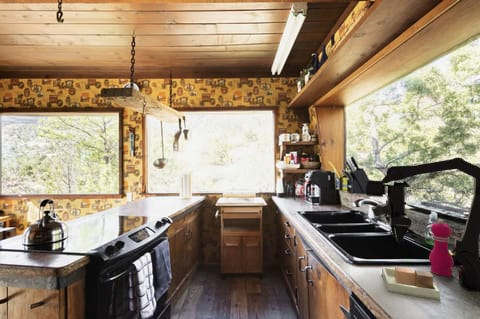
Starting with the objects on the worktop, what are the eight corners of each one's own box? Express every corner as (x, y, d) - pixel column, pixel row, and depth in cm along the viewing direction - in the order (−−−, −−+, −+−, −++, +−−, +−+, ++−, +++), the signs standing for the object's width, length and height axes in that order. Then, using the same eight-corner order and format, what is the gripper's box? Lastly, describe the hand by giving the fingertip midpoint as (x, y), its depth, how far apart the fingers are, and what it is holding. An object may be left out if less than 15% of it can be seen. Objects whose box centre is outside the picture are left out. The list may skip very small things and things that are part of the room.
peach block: (395, 277, 88) (412, 280, 87) (397, 282, 85) (414, 285, 83) (395, 266, 89) (411, 268, 87) (397, 271, 85) (414, 273, 83)
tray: (426, 280, 88) (426, 273, 88) (440, 300, 75) (440, 291, 75) (382, 274, 93) (382, 267, 93) (388, 291, 80) (387, 283, 80)
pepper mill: (431, 274, 93) (430, 220, 93) (427, 267, 99) (426, 216, 100) (456, 278, 89) (455, 222, 90) (450, 270, 96) (450, 218, 96)
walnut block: (429, 287, 82) (429, 271, 82) (433, 293, 78) (433, 276, 78) (414, 284, 83) (414, 269, 83) (418, 290, 80) (417, 274, 80)
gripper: (370, 194, 109) (370, 230, 108) (375, 200, 91) (375, 243, 91) (400, 195, 104) (400, 233, 104) (411, 202, 87) (412, 247, 87)
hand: (396, 238), depth 97 cm, fingers open, 9 cm apart
